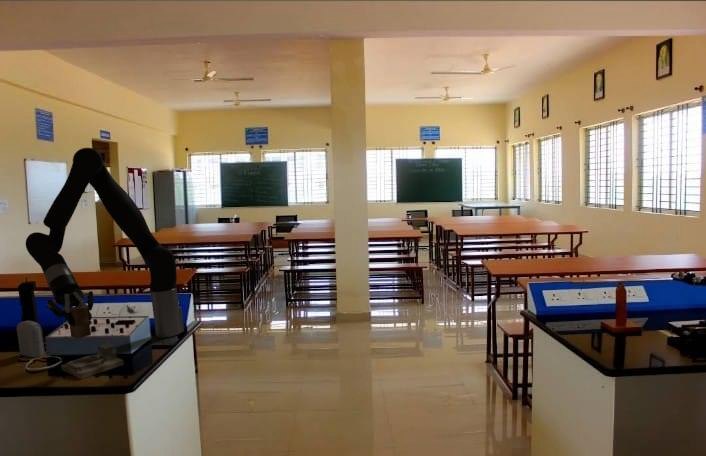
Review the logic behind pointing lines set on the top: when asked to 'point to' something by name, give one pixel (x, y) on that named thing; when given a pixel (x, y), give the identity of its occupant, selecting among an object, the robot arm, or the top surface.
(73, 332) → the walnut block
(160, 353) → the top surface
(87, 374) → the base board
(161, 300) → the robot arm
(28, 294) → the portable radio
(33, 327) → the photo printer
